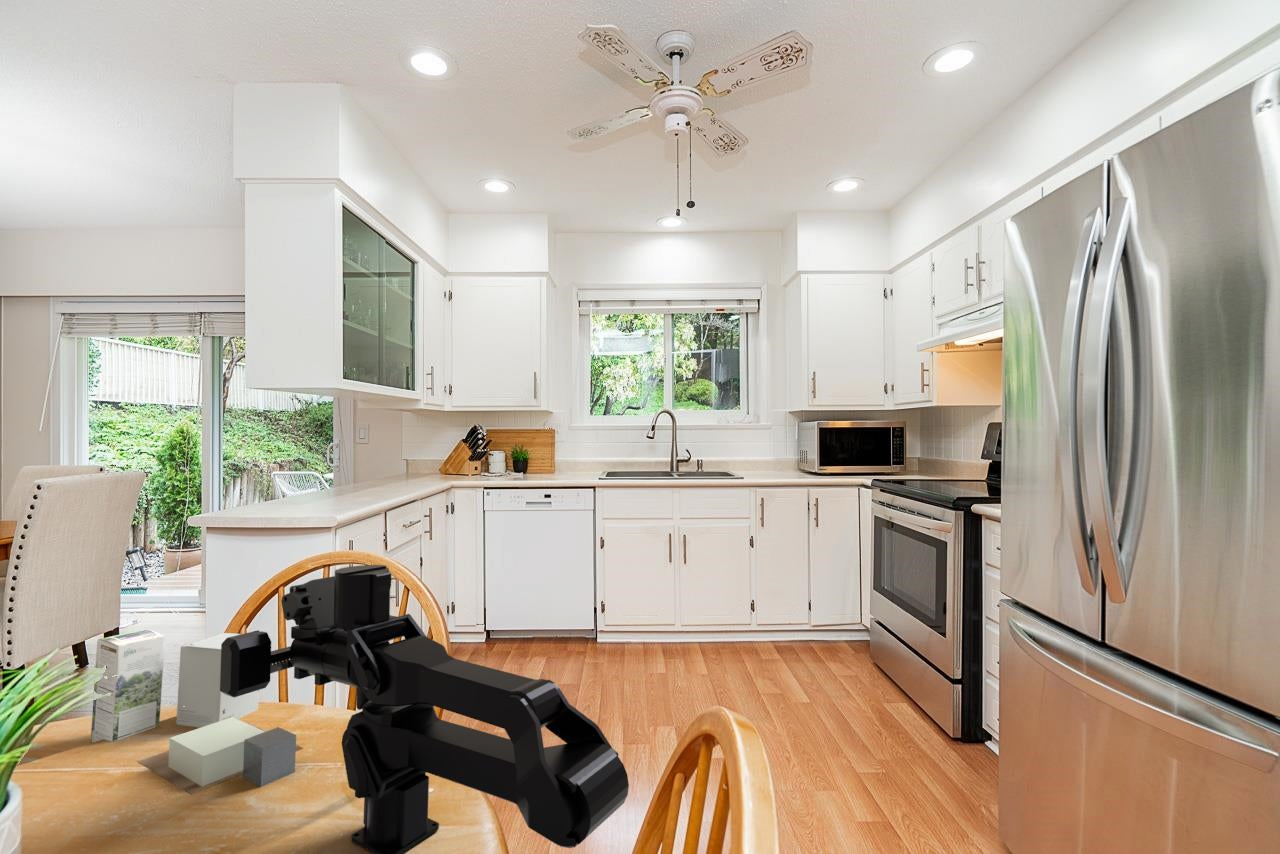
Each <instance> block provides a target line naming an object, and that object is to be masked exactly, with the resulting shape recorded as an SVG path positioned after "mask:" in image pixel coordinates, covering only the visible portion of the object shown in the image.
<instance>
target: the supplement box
mask: <svg viewBox="0 0 1280 854" xmlns="http://www.w3.org/2000/svg"><path fill="white" fill-rule="evenodd" d="M240 634H241V633H232V632H231V633H230V632H222V633H219V634H216V635H213V636H210V637H206V638H202V639H201V640H197V641H193V642H191V643H188V644H185V645H181V646H180V654H179V670H178V673H179V674H178V687H177V688H178V690H177V707H176V708H177V709H176V722H175V723H176V725H178V726H186V727H193V728H201V727H204V726H207V725H210V724H213V723H216V722H219V721H222V720H225V719H228V718H231V717H234V718H236V719H238V720H240V719H241V718H243V717H245V716H247V715H249V714H251V713H253V712H255V711H257V710H258V709H259V700H260V699H259V695H260V694H259V693H260V690H257V691H254V692H250V693H247V694H244V695H241V696H237V697H231V696H228V695H225V694H224V693H222V692H221V691H220V673H221V644H222V643H223V642H224V641H225V639H226V638H228V637H232V636H237V635H240ZM183 706H185V707H183Z"/></svg>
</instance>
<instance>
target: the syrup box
mask: <svg viewBox="0 0 1280 854" xmlns="http://www.w3.org/2000/svg"><path fill="white" fill-rule="evenodd" d="M165 642H166V637H165V635H163V634H161V633H159V632H157V631H155V630H151V629H139V630H136V631H131V632H126V633H121V634H116V635H112V636H108V637H103V638H98V639H97V641H96V654H95V655H96V656H95V668H103V667H104V666H105V665H107V664H108V666H107V668H106V670H105V672H104V673H103V677H102V678H101V679H100V680H99V681H97V682H96V683H95V682H94V683H95V684H94V685H93V692H94V691H95V692H96V693H97V694H102V695H105V694H107V693H112V694H111V695H110V696H105V697H102V698H99V699H96V700H93V702H92V714H91V715H92V716H91V717H92V718H91V732H90V733H91V734H90V743H92V744H93V743H97V742H99V741H102V740H105V741H109V742H111V743H113V742H116V741H119V740H123V739H125V738H128V737H131V736H135V735H137V734H140V733H143V732H145V731H149V730H153V729H155V728H157V727H160V719H161V704H162V688H163V686H162V685H163V672H164V658H165V646H166V645H165ZM114 675H118V676H117V677H112V676H114ZM104 676H107V677H109V679H105V678H104Z"/></svg>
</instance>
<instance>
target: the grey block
mask: <svg viewBox="0 0 1280 854" xmlns="http://www.w3.org/2000/svg"><path fill="white" fill-rule="evenodd" d="M265 731H266V730H265ZM296 745H297V734H295V733H293V732H291V731H289V730H285V729H283V728H281V727H279V726H277V727H275V728H273V729H269V730H267V731H266V732H264V733H261V734H258V735H256V736H253V737H250V738H247V739H245V740H244V762H243V774H242V778H243V779H244V780H245V781H246V780H247V781H248V782H251V783H252V784H254V785H256V786H257V787H259V788H262V787H264V786H267V785H269V784H271V783H274V782H276V781H278V780H280V779H282V778H285V777H287V776H290V775H291V774H294V773H295V772H296V755H297V754H296V752H297V751H296Z"/></svg>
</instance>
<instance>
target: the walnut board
mask: <svg viewBox="0 0 1280 854" xmlns="http://www.w3.org/2000/svg"><path fill="white" fill-rule="evenodd" d="M246 723H247V724H249V725H252V726H254V727H256V728H258V729H260V730H263V731H265V732H266V730H264V729H262V728H260V727H258V726H255V725H253V724H250V723H249V722H246ZM303 749H304V747H303V746H300V745H298V744H296V752H299V751H301V750H303ZM137 763H139V764H141V765H142V766H144V767H145V768H147V769H149V770H151V771H152V772H154V773H156V774H157V775H159V776H160V777H162V778H163V779H164V780H166V781H168V782H170V783H171V784H174V785H175V786H176V787H178V788H180V789H181V790H183V791H185V792H186V793H188V794H190V795H194V794H196V793H199V792H201V791H203V790H206V789H208V788H212V787H213V786H216V785H219V784H221V783H223V782H225V781H228V780H230V779H233V778H236V777H238V776H241V775H243V770H242V771H239V772H237V773H234V774H232V775H229V776H227V777H225V778H222V779H220V780H217V781H215V782H212V783H210V784H207V785H205V786H203V787H202V786H200V785H198V784H197V783H195V782H193V781H192V780H190V779H188V778H186V777H185V776H183V775H181V774H180V773H178V772H176V771H175V770H173V769H171V768H170V767H168V763H169V750H166V751H163V752H161V753H157V754H154V755H152V756H149V757H146V758H143V759H140V760H138V761H137Z"/></svg>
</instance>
